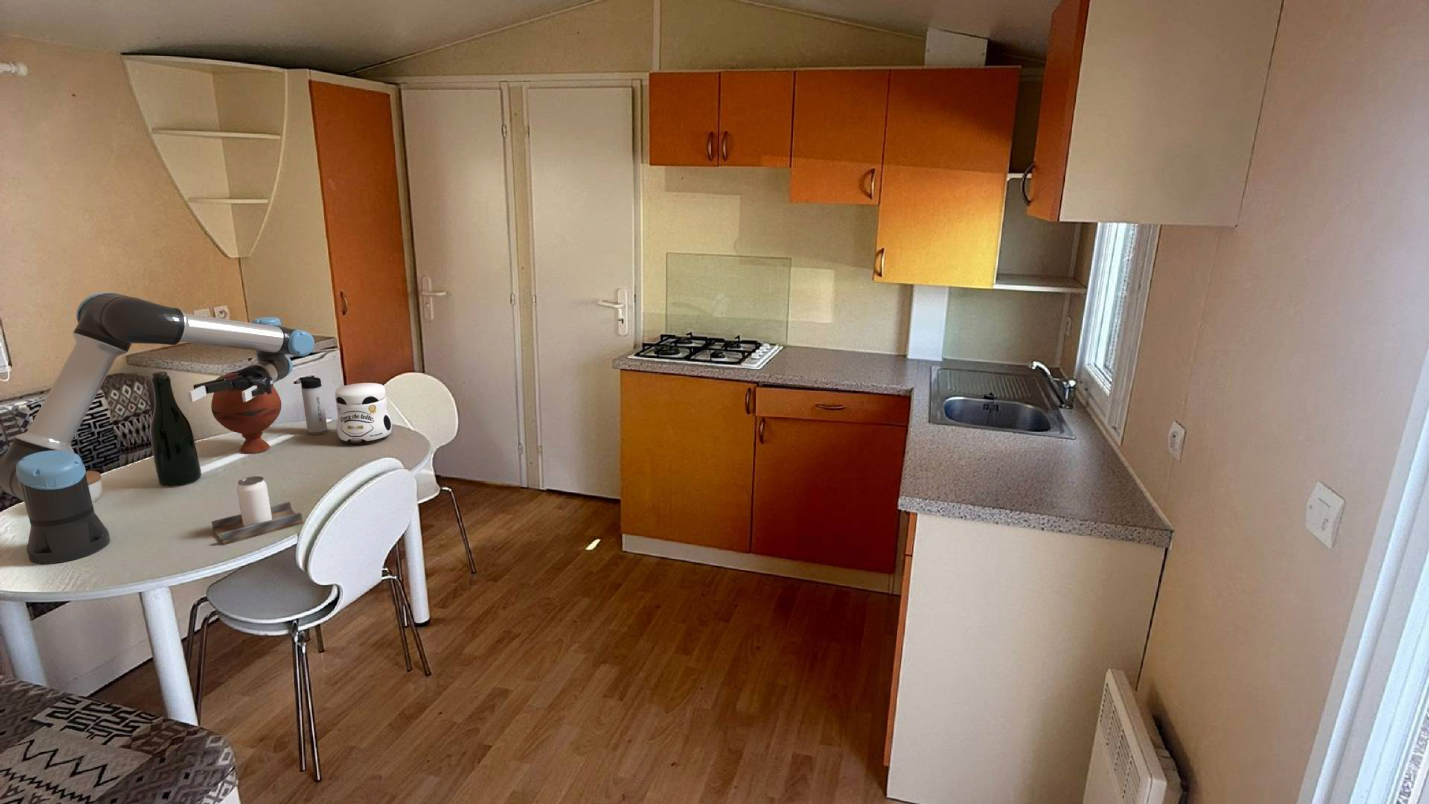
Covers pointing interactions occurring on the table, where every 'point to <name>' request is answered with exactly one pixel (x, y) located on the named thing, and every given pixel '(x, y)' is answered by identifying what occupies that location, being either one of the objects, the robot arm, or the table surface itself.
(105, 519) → the table surface
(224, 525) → the track
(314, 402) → the travel mug
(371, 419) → the milk container
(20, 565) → the table surface
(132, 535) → the table surface
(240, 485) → the can
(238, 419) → the goblet
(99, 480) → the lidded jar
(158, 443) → the dark green bottle
